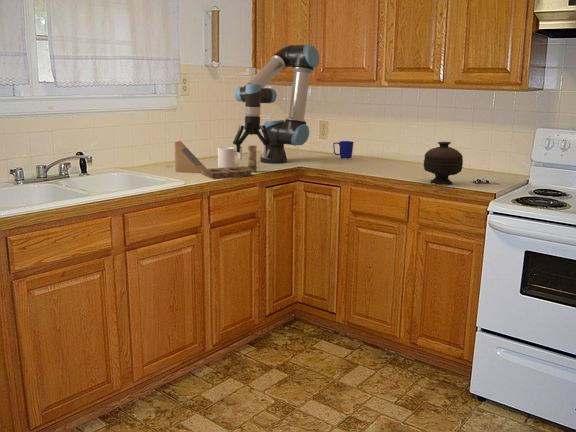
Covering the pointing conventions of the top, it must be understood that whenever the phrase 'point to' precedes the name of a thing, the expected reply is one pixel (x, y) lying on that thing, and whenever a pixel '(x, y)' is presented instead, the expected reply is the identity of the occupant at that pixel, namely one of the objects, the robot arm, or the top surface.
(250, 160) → the peg
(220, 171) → the board
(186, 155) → the sandwich container
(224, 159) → the mug
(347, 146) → the mug
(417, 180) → the top surface
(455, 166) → the pot
